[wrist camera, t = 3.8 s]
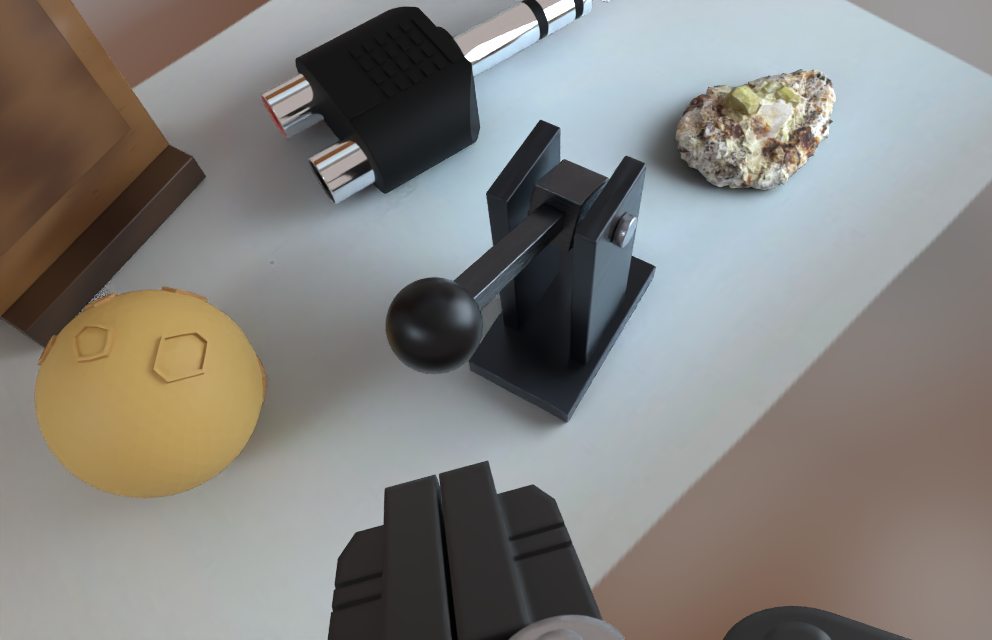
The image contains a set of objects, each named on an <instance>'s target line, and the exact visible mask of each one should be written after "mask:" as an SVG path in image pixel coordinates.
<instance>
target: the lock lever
mask: <svg viewBox="0 0 992 640" xmlns="http://www.w3.org/2000/svg"><path fill="white" fill-rule="evenodd" d="M608 180H609V178H608V177H605V176H603V175H601V174H598V173H596V172H593V171H591V170H589V169H586V168H584V167H582V166H579V165H577V164H575V163H572V162H570V161H568V160H565V159H564V160H562V161H561V162H560V163H559V164H557V165H556V166H555V167H554V168H553V169H551V170H550V171H549V172H548V173H546V174H545V175H544V176H543V177H542V178H540V179H539V180H538V181H537V182H535V183H534V187H533V191H532V196H531V200H530V205H529V210H528V214H527V217H526V218H525V219H524V220H523V221H522V222H521V223H519V224H518V225H517V226H516V227H515V228H514V229H512V230H511V231H510V232H509V233H508V234H507V235H506V236H504V237H503V238H502V239H501V240H500V241H499V242H498V243H496V244H495V245H494V246H493V247H492V248H491V249H490V250H488V251H487V252H486V253H485V254H484V255H483V256H482V257H480V258H479V259H478V260H477V261H476V262H475V263H473V264H472V265H471V266H470V267H469V268H468V269H467V270H465V271H464V272H463V273H462V274H461V275H460V276H459V277H457V278H456V279H455V280H454V281H451V280H448V279H444V278H437V277H432V278H424V279H420V280H417V281H415V282H413V283H411V284H409V285H407V286H406V287H405V288H403V289H402V290H401V291H400V292H399V293H398V294H397V295H396V297H395V298H394V299H393V301H392V303H391V305H390V307H389V310H388V313H387V317H386V335H387V339H388V342H389V345H390V347H391V349H392V351H393V352H394V354H395V355H396V356H397V357H398V358H399V360H400V361H402V362H403V363H404V364H405V365H406V366H408V367H410V368H412V369H414V370H416V371H418V372H422V373H426V374H442V373H446V372H450V371H453V370H455V369H457V368H458V367H460V366H462V365H463V364H464V363H465V362H467V361H468V360H469V359H470V358H471V356H472V355H473V354H474V353H475V351H476V349H477V347H478V345H479V343H480V340H481V336H482V328H483V325H482V316H481V312H480V310H481V309H482V308H483V307H484V306H485V305H486V304H487V303H488V302H489V301H490V300H492V299H493V298H494V297H495V296H496V295H497V294H498V293H499V292H500V291H501V290H502V289H503V288H504V287H505V286H506V285H507V284H508V283H509V282H510V281H511V280H512V279H513V278H514V277H515V276H516V275H517V274H518V273H519V272H520V271H522V270H523V269H524V268H525V267H526V266H527V265H528V264H529V263H530V262H531V261H532V260H533V259H534V258H535V257H536V256H537V255H538V254H539V253H540V252H541V251H542V250H543V249H544V248H545V247H546V246H547V245H548V244H549V243H550V244H552V245H555V246H557V247H559V248H561V249H563V250H565V251H568V252H569V251H570V250H571V249H572V248H573V247H574V232H575V231H576V229H577V228H578V226H579V225H580V223H581V222H582V220H583V219H584V217H585V216H586V214H587V213H588V211H589V210H590V208H591V207H592V205H593V204H594V202H595V201H596V199H597V198H598V196H599V194H600V193H601V191H602V190H603V188H604V187H605V185H606V184H607V182H608Z"/></svg>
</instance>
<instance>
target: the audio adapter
mask: <svg viewBox="0 0 992 640" xmlns="http://www.w3.org/2000/svg"><path fill="white" fill-rule="evenodd" d="M601 1H603V2H609V1H611V0H601ZM592 6H593V0H524V1H522V2H519V3H517V4H515V5H513V6H511V7H510V8H508V9H506V10H504V11H502V12H500V13H499V14H497V15H495V16H493V17H491V18H489V19H487V20H486V21H484V22H482V23H480V24H478V25H476V26H475V27H473V28H471V29H469V30H467V31H465V32H463V33H462V34H460V35H458V36H456V37H454V38H453V37H452V36H451V35H450V34H449V33H448V32H447V31H446V30H445V29H443V28H441V27H436V26H435V25H434V24H433V22H432V21H431V20H430V19H429V18H428V17H427V16H426V15H425V14H424V13H423V12H422V11H421V10H420V9H419V8H417V7H398V8H394V9H391V10H388V11H386V12H384V13H382V14H380V15H379V16H377V17H375V18H373V19H371V20H369V21H367V22H365V23H363V24H361V25H359V26H357V27H356V28H354V29H352V30H350V31H348V32H346V33H344V34H342V35H340V36H338V37H336V38H334V39H333V40H331V41H329V42H327V43H325V44H323V45H321V46H319V47H317V48H315V49H313V50H311V51H310V52H308V53H306V54H304V55H302V56H300V57H298V58H296V67H297V70H298V73H299V74H297V75H295V76H294V77H292V78H290V79H288V80H286V81H284V82H282V83H280V84H278V85H276V86H275V87H273V88H271V89H269V90H267V91H265V92H263V93H261V98H262V101H263V103H264V105H265V107H266V109H267V110H268V112H269V114H270V116H271V117H272V119H273V121H274V122H275V124H276V126H277V127H278V129H279V130H280V132H281V133H282V135H283V136H284V137H285V138H286V139H289V138H291V137H292V136H294V135H296V134H298V133H300V132H302V131H303V130H305V129H307V128H309V127H311V126H313V125H314V124H316V123H318V122H320V121H322V120H324V121H325V122H326V123H327V125H328V126H329V127H330V129H331V130H332V131H333V132H334V134H335V135H336V136H337V138H338V139H339V140H340V141H338V142H336V143H334V144H332V145H331V146H329V147H327V148H325V149H323V150H322V151H320V152H318V153H316V154H314V155H313V156H311V157H309V158H308V162H309V164H310V167H311V169H312V171H313V173H314V174H315V176H316V178H317V180H318V182H319V183H320V185H321V186H322V188H323V190H324V191H325V193H326V194H327V196H328V197H329V199H330V200H331V201H332V202H333V203H334V204H337V203H339V202H341V201H343V200H344V199H346V198H348V197H350V196H351V195H353V194H355V193H357V192H358V191H360V190H362V189H364V188H365V187H367V186H369V185H371V184H372V183H373V184H374V185H375V186H376V187H377V188H378V189H379V190H380V191H381V192H383V193H385V194H386V193H388V192H390V191H391V190H393V189H395V188H397V187H398V186H400V185H402V184H403V183H405V182H407V181H409V180H410V179H412V178H414V177H416V176H417V175H419V174H421V173H422V172H424V171H426V170H428V169H429V168H431V167H433V166H434V165H436V164H438V163H440V162H441V161H443V160H445V159H446V158H448V157H450V156H452V155H453V154H455V153H457V152H459V151H460V150H462V149H464V148H465V147H467V146H469V145H471V144H472V143H474V142H476V140H477V137H478V134H479V130H480V123H479V116H478V109H477V101H476V94H475V85H474V79H473V78H474V77H475V76H477V75H479V74H481V73H483V72H484V71H486V70H488V69H490V68H491V67H493V66H495V65H497V64H499V63H500V62H502V61H504V60H506V59H508V58H509V57H511V56H513V55H515V54H517V53H518V52H520V51H522V50H524V49H525V48H527V47H529V46H531V45H533V44H534V43H536V42H538V40H540V39H542V38H544V37H547V36H549V35H550V34H552V33H554V32H556V31H558V30H559V29H561V28H563V27H565V26H567V25H568V24H570V23H572V22H573V21H574V20H576V19H578V18H581V17H583V16H584V15H586V14H588V13H589V12H590V10H591V9H592Z"/></svg>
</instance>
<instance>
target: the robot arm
mask: <svg viewBox="0 0 992 640" xmlns="http://www.w3.org/2000/svg"><path fill="white" fill-rule="evenodd" d="M439 479H440V485H439V482H438V479H437V477H436V475H432V476H428V477H424V478H421V479H417V480H413V481H409V482H406V483H402V484H398V485H395V486H391V487H387V488H385V495H384V525H381V526H378V527H374V528H370V529H367V530H363V531H359V532H356V533H355V534H354V536H353V537H352V539H351V540H350V542H349V543H348V544H347V546H346V547H345V549H344V550H343V552H342V553H341V555H340V556H339V558H338V562H337V570H336V578H335V589H336V590H334V594H333V602H332V609H333V612H331V618H330V626H329V634H328V640H625V638H624V637H623V635H622V634H621V633H620V632H619V631H618V630H617V629H616V628H614V627H613V626H611V625H610V624H608V623H606V622H604V621H603V619H602V617H601V614H600V611H599V609H598V606H597V604H596V601H595V599H594V596H593V594H592V591H591V589H590V586H589V584H588V581H587V579H586V576H585V574H584V571H583V569H582V566H581V564H580V561H579V559H578V556H577V554H576V551H575V549H574V546H573V545H572V541H571V538H570V536H569V533H568V531H567V528H566V526H565V524H564V521H563V518H562V516H561V513H560V511H559V508H558V506H557V503H556V501H555V499H554V498H552V497H551V496H549V495H548V494H546V493H545V492H543V491H542V490H540V489H539V488H538V487H536V486H535V485H529V486H526V487H522V488H518V489H515V490H511V491H507V492H503V493H500V494H497V493H496V489H495V485H494V481H493V477H492V473H491V470H490V466H489V462H488V461H484V462H481V463H477V464H473V465H469V466H466V467H462V468H458V469H455V470H451V471H447V472H443V473H440V474H439ZM723 640H911V639H908V638H905V637H902V636H899V635H896V634H893V633H890V632H887V631H884V630H881V629H878V628H875V627H872V626H869V625H866V624H864V623H861V622H858V621H855V620H852V619H849V618H846V617H843V616H840V615H837V614H834V613H831V612H827V611H824V610H820V609H816V608H810V607H801V606H800V607H799V606H784V607H775V608H770V609H765V610H762V611H759V612H756V613H753V614H751V615H749V616H747V617H745V618H744V619H742V620H741V621H739V622H738V623H736V624H735V625H734V626H733V627H732V628H731V629H730V630H729V631H728V633H727V634H726V636H725V637H724V639H723Z"/></svg>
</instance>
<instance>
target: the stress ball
mask: <svg viewBox="0 0 992 640" xmlns="http://www.w3.org/2000/svg"><path fill="white" fill-rule="evenodd" d="M83 308H84V310H85V311H83V312H82V313H80V314H79V315H77V316H76V317H75V318H74V319H73V320H72V321H71V322H69V323H68V324H67V325H66V326H65V327H64V328H63V329H62V331H61V332H60V333H59V334H58V335H57V336H55V335H53V337H52V338H51V339H50V341H49V342H48V344H47V346H46V347H45V349H44V351H43V353H42V355H41V357H40V359H39V362H38V365H40V369H39V373H38V376H37V380H36V389H35V408H36V414H37V419H38V424H39V427H40V429H41V432H42V434H43V437H44V439H45V441H46V443H47V444H48V446H49V448H50V450H51V452H52V453H53V454H54V455H55V457H56V458H57V459H58V460H59V461H60V463H61V464H62V465H63V466H64V467H65V468H66V469H68V470H69V471H70V472H71V473H72V474H73V475H75V476H76V477H78V478H79V479H81V480H82V481H84V482H85V483H87V484H89V485H91V486H93V487H95V488H97V489H99V490H102V491H105V492H109V493H112V494H115V495H120V496H126V497H135V498H154V497H163V496H169V495H174V494H177V493H181V492H184V491H187V490H190V489H192V488H194V487H197V486H199V485H201V484H203V483H205V482H206V481H208V480H210V479H211V478H213V477H214V476H216V475H217V474H218V473H220V472H221V471H222V470H224V469H225V468H226V467H227V466H228V465H229V464H230V463H231V462H232V461H233V460H234V459H235V458H236V457H237V456H238V455H239V453H240V452H241V451H242V449H243V448H244V447H245V445H246V444H247V442H248V440H249V439H250V437H251V435H252V433H253V431H254V429H255V426H256V424H257V421H258V418H259V414H260V410H261V405H262V403H263V402H264V400H265V393H266V374H265V371H264V368H263V365H262V363H261V361H260V360H259V358H258V356H257V355H256V353H255V351H254V349H253V347H252V346H251V344H250V342H249V340H248V339H247V337H246V336H245V334H244V333H243V332H242V330H241V329H240V328H239V326H238V325H237V324H236V323H235V322H234V321H233V320H232V319H231V318H230V317H228V316H227V315H226V314H224V313H223V312H222V311H221V310H219V309H218V308H216V307H214V306H212V305H211V304H209V303H207V298H205V297H203V296H200V295H197V294H194V293H192V292H188V291H183V290H178V289H173V288H168V287H163V288H162V290H141V291H132V292H128V293H123V294H120V295H116V294H115V293H112V294H109V295H106V296H104V297H102V298H100V299H97V300H95V301H93V302H91V303H90V304H88V305H86V306H85V307H83Z"/></svg>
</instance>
